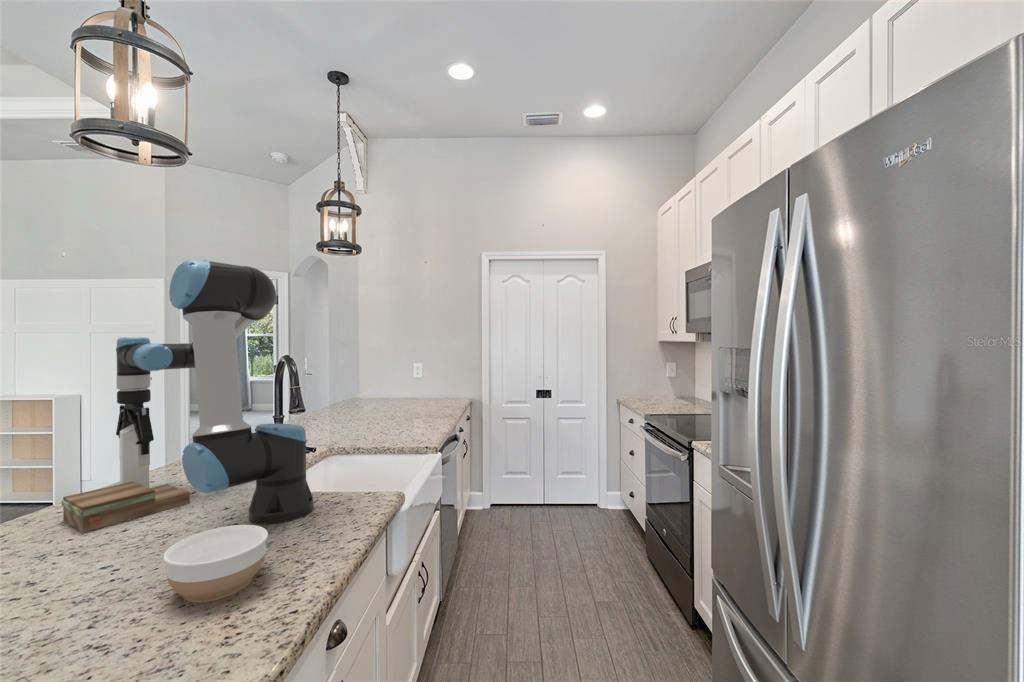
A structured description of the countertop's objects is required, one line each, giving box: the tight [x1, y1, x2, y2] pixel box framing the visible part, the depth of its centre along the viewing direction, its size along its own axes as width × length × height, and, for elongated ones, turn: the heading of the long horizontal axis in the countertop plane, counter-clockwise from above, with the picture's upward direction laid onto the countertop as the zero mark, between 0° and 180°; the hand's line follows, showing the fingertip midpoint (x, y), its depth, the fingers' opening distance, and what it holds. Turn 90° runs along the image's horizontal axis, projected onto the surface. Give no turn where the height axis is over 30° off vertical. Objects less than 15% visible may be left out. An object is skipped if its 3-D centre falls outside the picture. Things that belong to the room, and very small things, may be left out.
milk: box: [119, 424, 150, 488], centre depth 129 cm, size 6×6×22 cm
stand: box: [61, 482, 191, 534], centre depth 116 cm, size 14×22×6 cm, turn 149°
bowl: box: [162, 524, 269, 603], centre depth 81 cm, size 16×16×8 cm
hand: (134, 462), depth 129 cm, fingers open, 12 cm apart
